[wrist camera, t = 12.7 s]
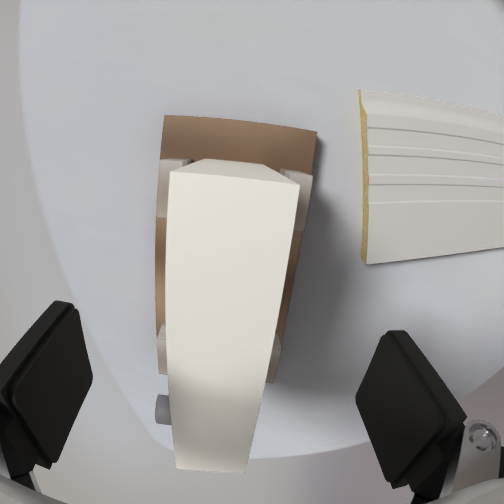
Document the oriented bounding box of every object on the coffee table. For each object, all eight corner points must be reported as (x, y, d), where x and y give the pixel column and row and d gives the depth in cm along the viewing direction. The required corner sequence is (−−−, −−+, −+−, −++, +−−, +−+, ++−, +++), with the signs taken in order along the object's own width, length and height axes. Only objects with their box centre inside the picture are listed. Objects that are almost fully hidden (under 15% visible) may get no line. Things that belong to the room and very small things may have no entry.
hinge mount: (168, 116, 15) (149, 108, 11) (312, 132, 16) (335, 128, 12) (161, 359, 20) (150, 397, 17) (271, 368, 21) (278, 407, 17)
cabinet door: (185, 156, 15) (129, 169, 7) (263, 164, 15) (300, 184, 7) (177, 350, 19) (154, 465, 10) (238, 355, 19) (244, 473, 11)
